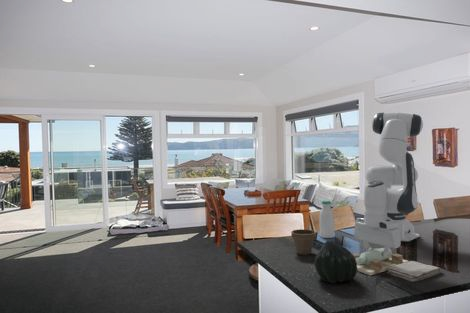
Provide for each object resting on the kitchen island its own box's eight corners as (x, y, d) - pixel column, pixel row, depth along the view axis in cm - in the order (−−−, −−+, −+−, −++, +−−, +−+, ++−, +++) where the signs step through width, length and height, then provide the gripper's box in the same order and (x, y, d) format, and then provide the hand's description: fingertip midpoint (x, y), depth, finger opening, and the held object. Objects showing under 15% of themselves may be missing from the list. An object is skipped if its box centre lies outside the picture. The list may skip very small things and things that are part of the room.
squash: (366, 273, 119) (352, 234, 129) (324, 277, 118) (313, 237, 128) (354, 288, 130) (342, 251, 140) (316, 292, 129) (306, 254, 139)
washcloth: (384, 274, 134) (384, 266, 134) (412, 265, 143) (412, 258, 143) (414, 284, 124) (414, 275, 124) (441, 273, 133) (441, 265, 133)
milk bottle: (334, 238, 186) (334, 201, 186) (320, 238, 188) (319, 201, 187) (333, 235, 194) (332, 199, 193) (319, 234, 195) (318, 199, 195)
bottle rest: (381, 255, 155) (381, 246, 155) (408, 263, 144) (408, 253, 144) (344, 266, 143) (343, 256, 143) (370, 275, 132) (370, 264, 132)
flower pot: (295, 248, 170) (295, 228, 170) (318, 250, 165) (318, 229, 165) (288, 254, 160) (288, 233, 160) (313, 257, 155) (312, 235, 155)
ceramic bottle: (382, 257, 149) (382, 245, 149) (392, 260, 145) (392, 248, 145) (353, 265, 140) (353, 253, 140) (363, 268, 136) (363, 256, 136)
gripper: (350, 217, 150) (351, 249, 151) (392, 226, 133) (393, 261, 133) (360, 216, 154) (361, 246, 154) (402, 224, 136) (403, 258, 136)
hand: (376, 253), depth 143 cm, fingers open, 6 cm apart
